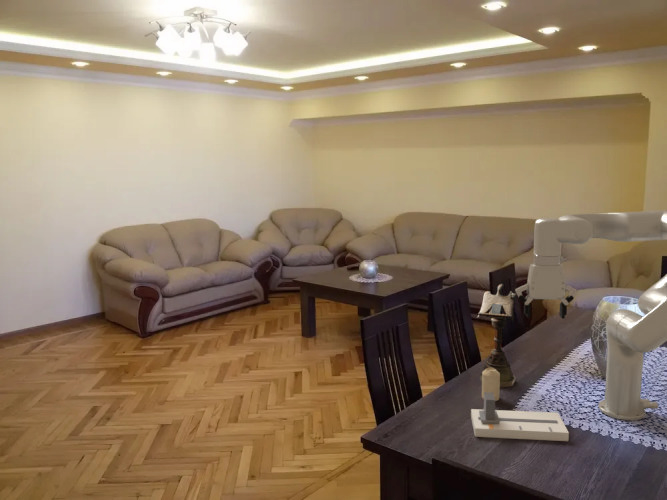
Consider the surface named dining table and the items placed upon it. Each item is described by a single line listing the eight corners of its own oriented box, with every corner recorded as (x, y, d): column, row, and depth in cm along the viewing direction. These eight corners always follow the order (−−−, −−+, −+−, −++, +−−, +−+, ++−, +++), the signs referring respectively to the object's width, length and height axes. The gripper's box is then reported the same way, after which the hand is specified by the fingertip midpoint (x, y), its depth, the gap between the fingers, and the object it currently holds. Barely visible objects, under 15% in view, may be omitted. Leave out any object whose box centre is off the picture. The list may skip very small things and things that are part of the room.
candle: (500, 402, 174) (500, 372, 172) (482, 401, 175) (482, 371, 174) (498, 394, 179) (499, 366, 178) (481, 393, 181) (481, 365, 179)
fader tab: (496, 413, 160) (496, 392, 159) (499, 423, 155) (499, 400, 153) (479, 412, 161) (479, 391, 160) (481, 422, 155) (481, 400, 154)
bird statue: (513, 396, 178) (516, 292, 172) (473, 388, 184) (475, 288, 179) (522, 377, 192) (525, 281, 187) (485, 371, 199) (487, 278, 193)
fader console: (557, 420, 161) (557, 412, 161) (568, 441, 149) (568, 432, 149) (471, 416, 165) (471, 408, 164) (475, 436, 153) (475, 428, 153)
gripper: (574, 258, 161) (572, 314, 164) (514, 258, 164) (512, 313, 166) (582, 263, 154) (579, 321, 156) (518, 263, 156) (516, 320, 159)
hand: (544, 317), depth 161 cm, fingers open, 9 cm apart
